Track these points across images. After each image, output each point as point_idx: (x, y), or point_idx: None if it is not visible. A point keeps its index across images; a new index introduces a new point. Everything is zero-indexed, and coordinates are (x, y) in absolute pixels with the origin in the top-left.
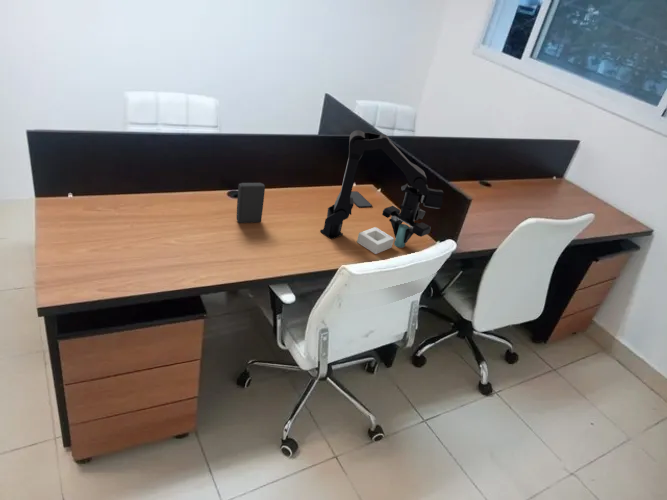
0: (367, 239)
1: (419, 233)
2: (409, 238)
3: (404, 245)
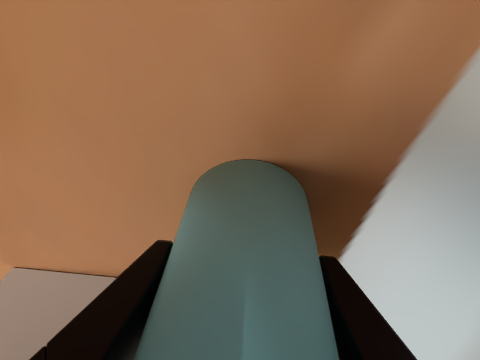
0: None
1: None
2: (390, 331)
3: (310, 216)
